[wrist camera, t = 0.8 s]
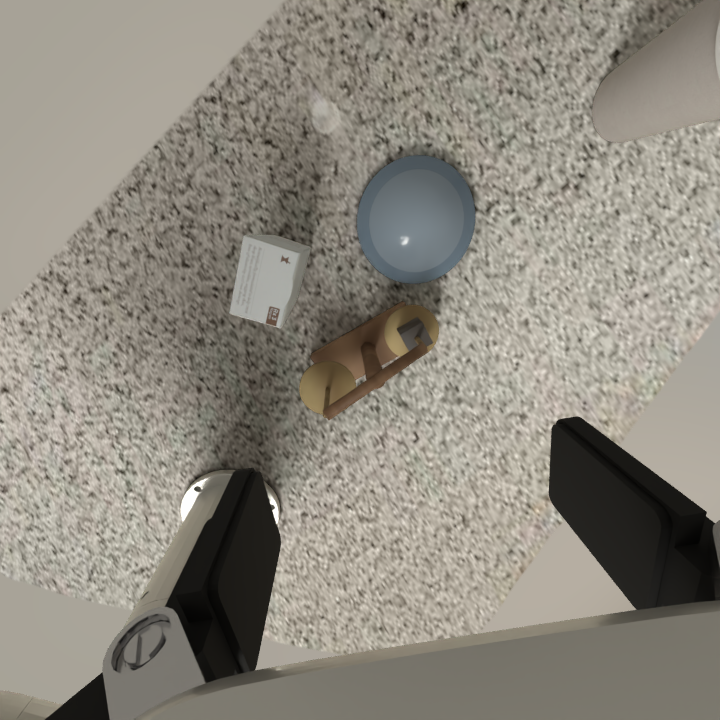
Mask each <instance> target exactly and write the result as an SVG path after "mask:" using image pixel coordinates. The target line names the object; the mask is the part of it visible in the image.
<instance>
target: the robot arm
mask: <svg viewBox="0 0 720 720" xmlns="http://www.w3.org/2000/svg"><path fill="white" fill-rule="evenodd" d="M549 497H550V500H551V502H552V504H553V505H554V507H555V508H556V509H557V510H558V512H559V513H560V514H561V515H562V517H563V518H564V519H565V520H566V522H567V523H568V524H569V525H570V527H571V528H572V529H573V531H574V532H575V533H576V534H577V535H578V537H579V538H580V539H581V541H582V542H583V543H584V544H585V545H586V547H587V548H588V549H589V551H590V552H591V553H592V555H593V556H594V557H595V558H596V559H597V561H598V562H599V563H600V565H601V566H602V567H603V568H604V570H605V571H606V572H607V573H608V575H609V576H610V577H611V578H612V580H613V581H614V582H615V583H616V585H617V586H618V587H619V589H620V590H621V591H622V592H623V594H624V595H625V596H626V597H627V599H628V600H629V601H630V602H631V604H632V605H633V606H634V607H635V608H636V609H637V610H633V611H627V612H620V613H613V614H607V615H600V616H593V617H586V618H579V619H572V620H566V621H560V622H553V623H545V624H539V625H533V626H526V627H519V628H513V629H506V630H499V631H493V632H486V633H480V634H473V635H467V636H461V637H454V638H448V639H441V640H435V641H428V642H422V643H416V644H409V645H403V646H397V647H391V648H384V649H378V650H372V651H366V652H360V653H353V654H347V655H341V656H335V657H328V658H322V659H316V660H310V661H305V662H299V663H294V664H289V665H283V666H278V667H272V668H267V669H261V670H255V668H256V665H257V660H258V656H259V651H260V646H261V641H262V636H263V631H264V626H265V621H266V616H267V611H268V606H269V601H270V596H271V592H272V587H273V582H274V577H275V572H276V567H277V562H278V557H279V552H280V547H281V538H280V533H279V530H278V527H277V526H278V522H279V518H280V503H279V500H278V498H277V495H276V494H275V492H274V491H273V489H272V488H271V487H270V486H269V485H268V484H267V483H266V482H264V481H263V478H262V475H261V473H260V472H255V470H254V468H248V469H242V470H219V471H214V472H211V473H208V474H205V475H203V476H202V477H200V478H198V479H197V480H196V481H194V482H193V483H192V484H191V485H190V487H189V488H188V490H187V491H186V493H185V495H184V496H183V498H182V502H181V506H180V514H181V518H182V522H183V523H182V525H181V527H180V529H179V530H178V532H177V534H176V536H175V537H174V539H173V541H172V543H171V544H170V546H169V548H168V550H167V552H166V553H165V555H164V557H163V559H162V560H161V562H160V564H159V566H158V568H157V569H156V571H155V573H154V575H153V576H152V578H151V580H150V582H149V583H148V585H147V587H146V589H145V591H144V592H143V594H142V596H141V598H140V599H139V601H138V603H137V605H136V606H135V608H134V610H133V612H132V614H131V615H130V617H129V619H128V621H127V622H126V624H125V626H124V628H123V629H122V630H121V632H120V633H119V634H118V635H117V636H116V637H115V639H114V640H113V642H112V643H111V645H110V646H109V648H108V650H107V652H106V655H105V658H104V660H103V672H102V673H101V674H100V675H98V676H97V677H96V678H95V679H94V680H92V681H91V682H90V683H89V684H88V685H87V686H85V687H84V688H83V689H81V690H80V691H79V692H78V693H77V694H75V695H74V696H73V697H72V698H70V699H69V700H68V701H67V702H66V703H64V704H63V705H61V704H57V703H54V702H50V701H46V700H42V699H38V698H35V697H31V696H27V695H24V694H20V693H14V692H8V691H0V720H720V520H719V521H718V522H717V523H714V522H713V521H711V520H710V519H709V518H707V517H706V513H707V512H706V511H705V510H703V509H702V508H701V507H699V506H698V505H697V504H695V503H694V502H693V501H691V500H690V499H689V498H687V497H686V496H685V495H683V494H682V493H681V492H679V491H678V490H677V489H675V488H674V487H672V486H671V485H670V484H669V483H667V482H666V481H665V480H663V479H662V478H661V477H659V476H658V475H657V474H655V473H654V472H653V471H651V470H650V469H649V468H647V467H646V466H645V465H643V464H642V463H641V462H639V461H638V460H637V459H635V458H634V457H633V456H631V455H630V454H629V453H627V452H626V451H625V450H623V449H622V448H621V447H619V446H618V445H617V444H615V443H614V442H613V441H611V440H610V439H609V438H607V437H606V436H605V435H603V434H602V433H601V432H599V431H598V430H597V429H595V428H594V427H593V426H591V425H590V424H589V423H587V422H586V421H585V420H583V419H582V418H580V417H571V418H564V419H559V420H558V421H557V422H556V425H553V427H552V434H551V455H550V477H549Z"/></svg>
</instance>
